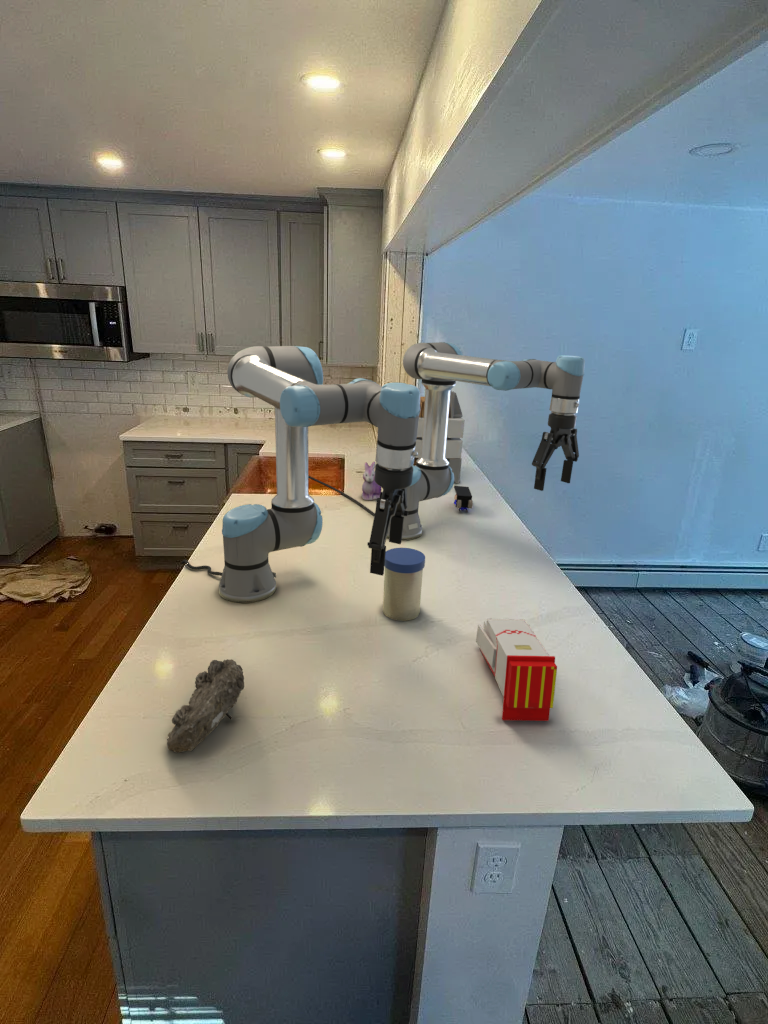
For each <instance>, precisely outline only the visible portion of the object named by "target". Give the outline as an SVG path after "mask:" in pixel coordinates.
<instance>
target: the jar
mask: <svg viewBox="0 0 768 1024" xmlns="http://www.w3.org/2000/svg"><path fill="white" fill-rule="evenodd" d="M423 572H424V568H423V569H422V570H421V571H418V572H415V573H398V572H394V571H391V570H389V569H387V568H386V567H385V566H384V574H383V577H384V578H383V579H384V580H383V595H382V600H383V601H382V613H383V615H384V616H386V618H388V619H390V620H394V621H401V622H407V621H412V620H414V619H416V618H418V617H419V615H420V611H421V601H422V598H421V597H422V585H423Z"/></svg>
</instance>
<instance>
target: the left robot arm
mask: <svg viewBox="0 0 768 1024" xmlns="http://www.w3.org/2000/svg"><path fill="white" fill-rule="evenodd" d="M226 372H227V373H226V374H227V379H228V383H229V384H230V386H231V387H232V388H233V389H234V391H236V392H237V393H239V394H241V395H242V396H244V397H247V398H257V399H259V400H261V401H263V402H265V403H267V404H269V405H271V406H272V407H274V421H275V422H274V428H275V429H274V431H275V469H276V470H275V471H276V472H275V475H276V478H275V479H276V494H275V496H273V497H272V499H271V502H270V503H271V506H270V507H271V508H268V509H267V508H266V506H264V505H262V504H258V503H255V504H252V503H247V504H242V505H239V506H236V507H233V508H231V509H230V510H228V511H226V513H225V514H224V515H223V517H222V529H221V534H222V543H223V546H222V547H223V559H224V568H223V570H222V572H221V571H213V570H212V567H211V566H210V565H198V566H194V565H192V564H191V563H190V562H189V560H187V559H183V560H182V561H181V562H180V564H182V565H184V564H185V565H186V564H187V563H188V564H187V565H186V566H187V567H188V568H189V569H190V570H193V571H197V570H207V574H209V575H211V576H219V577H220V581H219V583H218V593H219V596H220V597H221V598H223V599H224V600H226V601H229V602H233V603H239V604H240V603H242V604H246V603H247V604H248V603H255V602H259V601H263V600H266V599H268V598H269V597H271V596H273V594H274V593H275V592H276V590H277V581H276V578H277V573H276V571H275V572H274V571H273V570H272V567H271V566H270V562H269V553H273V552H277V551H278V552H279V551H283V550H288V549H294V548H298V547H304V546H306V545H312V544H314V543H315V542H316V541H317V540H318V539H319V538H320V536H321V534H322V531H323V515H322V510H321V508H320V507H319V505H318V504H317V503H316V502H315V499H314V498H313V497H312V495H310V494H309V490H310V489H309V478H308V475H309V427H316V426H326V425H336V424H351V423H363V422H364V423H369V425H370V424H371V425H372V426H374V427H376V428H377V437H376V449H375V461H374V462H375V468H374V472H375V477H374V480H375V482H376V484H378V485H379V486H381V489H382V491H381V493H380V497H379V498H377V499H375V512H374V513H375V516H373V522H372V526H371V531H370V537H369V541H368V542H367V545H366V546H367V547H368V549H371V553H370V566H369V567H370V568H369V574H373V575H379V576H383V577H384V573H385V566H384V565H385V554H386V551H387V545H386V542H387V539H388V542H389V543H392V544H397V545H401V544H402V542H403V540H402V532H403V522H404V517H402V515H403V516H408V511H405V510H406V509H407V507H408V506H407V489H406V488H407V487H409V486H410V485H411V484H412V478H413V467H412V465H413V464H414V457H416V456H417V455H418V453H417V452H416V451H415V446H416V439H417V430H418V421H419V414H420V410H421V409H420V397H421V391H420V389H419V388H418V387H417V386H416V385H414V384H410V383H409V384H408V383H405V382H387V383H385V384H383V385H381V384H379V383H377V382H376V381H374V380H372V379H367V378H364V377H363V378H362V377H358V378H354V379H353V380H351V381H350V382H348V383H335V384H324V371H323V366H322V362H321V361H320V358H319V357H318V355H317V353H316V352H315V351H314V349H311V347H307V346H299V345H274V346H273V345H271V346H270V345H269V346H266V345H265V346H261V345H255V346H249V347H246V348H243V349H242V350H239V351H238V352H237V353H236V354H234V355H233V357H231V359H230V361H229V362H228V366H227V371H226ZM389 510H391V511H389ZM390 522H391V524H390ZM389 526H390V535H389V538H387V534H388V530H389Z"/></svg>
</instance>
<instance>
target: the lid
mask: <svg viewBox="0 0 768 1024" xmlns="http://www.w3.org/2000/svg"><path fill="white" fill-rule="evenodd" d="M425 566H426V555H425V554H424V553H423V552H422V551H420V550H418V549H415V548H410V547H394V548H390V549H386V554H385V565H384V568H385V567H386V568H387V569H389V570H391V571H394V572H398V573H415V572H418V571H421V570H422V569H423V570H424V569H425Z"/></svg>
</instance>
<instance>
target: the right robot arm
mask: <svg viewBox="0 0 768 1024" xmlns="http://www.w3.org/2000/svg"><path fill="white" fill-rule="evenodd" d="M585 365H586V360H585V358H584V357H582V356H578V355H566V354H565V355H564V354H563V355H558V356H557V357H556V360H555V361H549V360H541V359H536V358H524V359H521V360H506V359H505V360H504V359H503V360H502V359H496V358H487V357H479V356H471V355H464V354H463V352H462V350H461V349H460V347H459V346H457V345H456V344H455V343H451V342H445V341H443V342H442V341H441V342H440V341H439V342H438V341H437V342H417V343H414V344H412V345H411V346H409V347H408V348H407V350H406V351H405V353H404V355H403V358H402V366H403V369H404V372H405V373H406V374H407V375H408V376H409V377H411V378H412V379H415V380H421V385H422V386H423V387H424V389H425V392H424V397H425V404H424V419H423V434H422V449H421V457H420V458H418V459H417V461H416V466H413V465H412V467H413V478H412V484H411V485H410V486H409V487H407V488H406V489H407V506H408V507H407V509H406V510H405V511H408V516H403V515H402V517H404V522H403V532H402V541H410V540H415V539H418V538H420V537H421V536H422V535H423V525H422V524H421V518H420V515H419V507H420V506H419V505H420V502H423V501H427V500H431V499H437V498H440V497H443V496H446V495H448V493H450V492H451V490H452V489H453V488H454V484H455V483H454V473H452V469H451V467H450V466H449V462H448V461H447V459H446V458H445V453H446V441H447V428H448V416H449V404H450V392H451V391H452V389H453V388H454V387H455V386H456V384H457V382H461V383H465V384H473V385H479V386H487V387H491V388H492V389H494V390H496V391H503V392H504V391H511V390H520V389H532V388H533V389H534V388H539V389H546V390H551V398H550V404H549V413H548V418H547V419H548V420H547V426H548V427H549V428H550V431H549V432H548V431H543V432H542V435H541V440H540V442H539V445H538V447H537V449H536V452H535V454H534V457H533V460H532V461H531V466H533V467H535V475H534V477H535V478H534V485H533V489H534V490H537V491H539V492H543V491H544V489H545V484H546V483H545V482H546V476H547V468H546V466H547V465H548V463H549V461H550V459H551V457H552V456H553V454H554V453H555V451H556V450H557V449H558V448H560V447H561V449H562V452H563V455H564V458H565V459H563V463H562V468H561V469H562V470H561V475H560V482H562V483H566V484H571V478H572V472H573V466H574V463H576V462H578V461H579V457H580V453H579V444H578V428H576V423H577V419H578V416H577V414H578V412H579V411H578V410H579V406H580V397H581V391H582V385H583V380H584V376H585ZM308 479H310V480H312V481H314V482H316V483H318V484H320V485H323V486H324V487H326V488H329V489H330V490H333V491H335V492H337V493H339V494H340V495H341V496H344V497H346V499H349V500H350V501H352V502H354V503H355V504H357V505H358V506H360V507H361V508H363V510H365V511H367V512H368V513H369V514H371V515H372V516H373V517H374V516H375V512H373V511H372V510H371V509H369V508H368V507H366V505H364V504H362V503H361V502H360V501H358V500H357V499H356V498H353V497H352V496H350V495H349V494H347V493H345V492H343V491H342V490H339V489H338V488H335V487H334V486H331V485H330V484H328V483H326V482H323V481H321V480H319V479H317V478H315V477H313V476H311V475H309V474H308ZM389 511H391V510H389ZM390 524H391V522H390ZM389 535H390V526H389V530H388V534H387V538H386V539H389Z"/></svg>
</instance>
